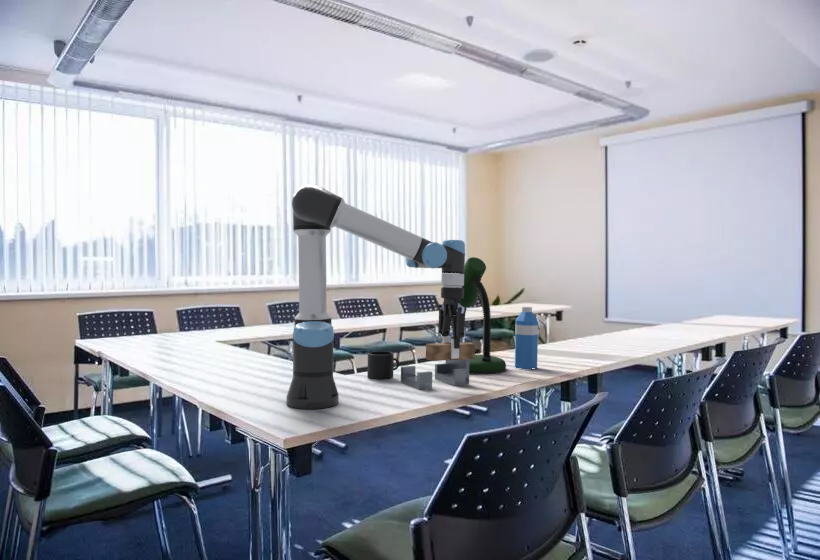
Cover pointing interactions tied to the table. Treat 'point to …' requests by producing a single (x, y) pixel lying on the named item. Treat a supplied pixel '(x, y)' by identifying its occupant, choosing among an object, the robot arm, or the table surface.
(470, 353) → the brown wooden bar
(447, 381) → the cup bracket
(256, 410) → the table surface
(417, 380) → the saddle bracket
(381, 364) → the mug
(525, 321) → the water bottle
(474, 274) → the desk lamp
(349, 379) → the table surface
